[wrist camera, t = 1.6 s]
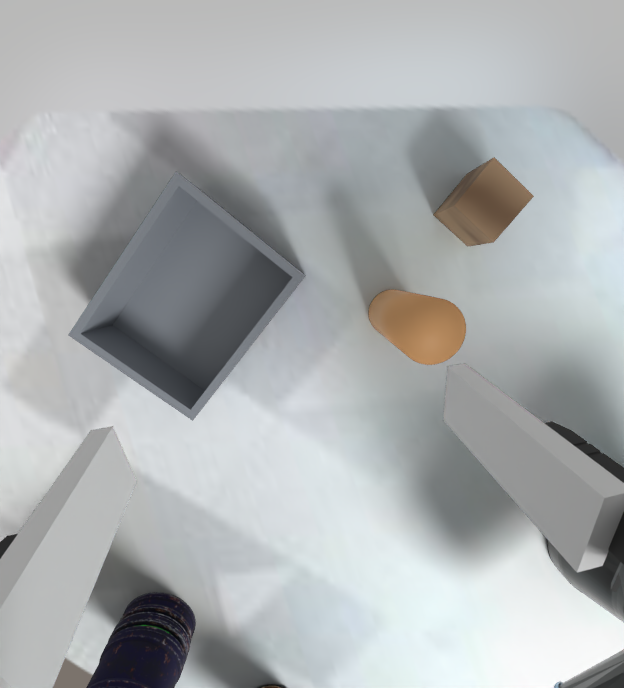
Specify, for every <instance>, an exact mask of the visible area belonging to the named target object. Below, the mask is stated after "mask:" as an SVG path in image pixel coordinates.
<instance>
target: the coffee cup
mask: <svg viewBox="0 0 624 688" xmlns="http://www.w3.org/2000/svg"><path fill="white" fill-rule="evenodd" d="M262 688H281V687H278V686H265V687H262Z"/></svg>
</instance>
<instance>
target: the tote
mask: <svg viewBox="0 0 624 688" xmlns="http://www.w3.org/2000/svg"><path fill="white" fill-rule="evenodd" d="M304 277H305V275H304V274H303V273H302V272H301V271H299V270H298V269H297V268H296V267H295V266H293V265H292V264H291V263H290V262H288V261H287V260H286V259H285V258H283V257H282V256H281V255H280V254H279V253H277V252H276V251H275V250H274V249H272V248H271V247H270V246H269V245H267V244H266V243H265V242H264V241H263V240H261V239H260V238H259V237H258V236H256V235H255V234H254V233H253V232H251V231H250V230H249V229H248V228H247V227H245V226H244V225H243V224H242V223H240V222H239V221H238V220H237V219H235V218H234V217H233V216H232V215H231V214H229V213H228V212H227V211H226V210H224V209H223V208H222V207H221V206H219V205H218V204H217V203H216V202H215V201H213V200H212V199H211V198H210V197H208V196H207V195H206V194H205V193H203V192H202V191H201V190H200V189H198V188H197V187H196V186H195V185H193V184H192V183H191V182H189V181H188V180H187V179H186V178H184V177H183V176H182V175H180V174H179V173H178V172H175V174H174V175H173V177H172V178H171V180H170V181H169V183H168V184H167V186H166V187H165V189H164V190H163V192H162V193H161V195H160V196H159V198H158V199H157V201H156V202H155V204H154V206H153V207H152V209H151V210H150V212H149V213H148V215H147V216H146V218H145V219H144V221H143V222H142V224H141V225H140V227H139V228H138V230H137V231H136V233H135V234H134V236H133V237H132V239H131V240H130V242H129V244H128V245H127V247H126V248H125V250H124V251H123V253H122V254H121V256H120V257H119V259H118V260H117V262H116V263H115V265H114V266H113V268H112V269H111V271H110V272H109V274H108V275H107V277H106V278H105V280H104V281H103V283H102V285H101V286H100V288H99V289H98V291H97V292H96V294H95V295H94V297H93V298H92V300H91V301H90V303H89V304H88V306H87V307H86V309H85V310H84V312H83V313H82V315H81V316H80V318H79V319H78V321H77V323H76V324H75V326H74V327H73V329H72V330H71V332H70V333H69V336H70V337H72V338H73V339H75V340H76V341H78V342H79V343H80V344H82V345H83V346H85V347H86V348H88V349H89V350H91V351H92V352H94V353H95V354H96V355H98V356H99V357H101V358H102V359H104V360H105V361H107V362H108V363H110V364H111V365H112V366H114V367H115V368H117V369H118V370H120V371H121V372H123V373H124V374H126V375H127V376H128V377H130V378H131V379H133V380H134V381H136V382H137V383H139V384H140V385H142V386H143V387H145V388H146V389H147V390H149V391H150V392H152V393H153V394H155V395H156V396H158V397H159V398H161V399H162V400H163V401H165V402H166V403H168V404H169V405H171V406H172V407H174V408H175V409H177V410H178V411H179V412H181V413H182V414H184V415H185V416H187V417H188V418H190V419H191V420H194V418H195V417H196V416H197V415H198V413H199V412H200V411H201V409H202V408H203V407H204V406H205V404H206V403H207V402H208V400H209V399H210V398H211V397H212V395H213V394H214V393H215V391H216V390H217V389H218V388H219V386H220V385H221V384H222V382H223V381H224V380H225V379H226V377H227V376H228V375H229V373H230V372H231V371H232V370H233V368H234V367H235V366H236V364H237V363H238V362H239V361H240V359H241V358H242V357H243V355H244V354H245V353H246V351H247V350H248V349H249V348H250V346H251V345H252V344H253V342H254V341H255V340H256V339H257V337H258V336H259V335H260V333H261V332H262V331H263V330H264V328H265V327H266V326H267V324H268V323H269V322H270V321H271V319H272V318H273V317H274V315H275V314H276V313H277V312H278V310H279V309H280V308H281V306H282V305H283V304H284V303H285V301H286V300H287V299H288V297H289V296H290V295H291V294H292V292H293V291H294V290H295V288H296V287H297V286H298V285H299V283H300V282H301V281H302V279H303V278H304Z"/></svg>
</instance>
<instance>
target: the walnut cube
mask: <svg viewBox="0 0 624 688" xmlns="http://www.w3.org/2000/svg"><path fill="white" fill-rule="evenodd" d="M533 197H534V196H533V195H532V194H531V193H530V192H529V191H528V190H527V189H526V188H525V187H524V186H523V185H522V184H521V183H520V182H519V181H518V180H517V179H516V178H515V177H514V176H513V175H512V174H511V173H510V172H509V171H508V170H507V169H506V168H505V167H504V166H503V165H502V164H501V163H500V162H498V161H497V160H496V159H495V158H492V159H491V160H489V161H487V162H486V163H484V164H482V165H481V166H479V167H477V168H476V169H474V170H473V171H471V172H469V173H468V174H466V176H465V177H464V178H463V179H462V180H461V182H460V183H459V184H458V185H457V187H456V188H455V189H454V190H453V191H452V193H451V194H450V195H449V196H448V198H447V199H446V200H445V201H444V202H443V204H442V205H441V206H440V207H439V208H438V210H437V211H436V212H435V213H434V216H435V217H436V218H437V219H438V220H439V221H440V222H441V223H443V224H444V225H445V226H446V227H447V228H448V229H449V230H450V231H451V232H452V233H454V234H455V235H456V236H457V237H458V238H459V239H460V240H461V241H462V242H463V243H465V244H466V245H467V246H473V245H480V244H486V243H492V242H494V241H495V240H496V239H497V238H498V237H499V236H500V234H501V233H502V232H503V231H504V230H505V229H506V228H507V226H508V225H509V224H510V223H511V222H512V221H513V220H514V218H515V217H516V216H517V215H518V214H519V213H520V211H521V210H522V209H523V208H524V207H525V206H526V205H527V203H528V202H529V201H530V200H531V199H532V198H533Z"/></svg>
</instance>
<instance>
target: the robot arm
mask: <svg viewBox="0 0 624 688" xmlns="http://www.w3.org/2000/svg"><path fill="white" fill-rule="evenodd" d="M443 421H444V422H445V423H446V424H447V425H448V427H449V428H450V429H451V430H452V431H453V432H454V433H455V435H456V436H457V437H458V438H459V439H460V440H461V441H462V443H463V444H464V445H465V446H466V447H467V448H468V449H469V450H470V452H471V453H472V454H473V455H474V456H475V457H476V458H477V460H478V461H479V462H480V463H481V464H482V465H483V466H484V468H485V469H486V470H487V471H488V472H489V473H490V474H491V476H492V477H493V478H494V479H495V480H496V481H497V482H498V484H499V485H500V486H501V487H502V488H503V489H504V490H505V491H506V493H507V494H508V495H509V496H510V497H511V498H512V499H513V501H514V502H515V503H516V504H517V505H518V506H519V507H520V509H521V510H522V511H523V512H524V513H525V514H526V515H527V517H528V518H529V519H530V520H531V521H532V522H533V523H534V524H535V526H536V527H537V528H538V529H539V530H540V531H541V532H542V534H543V535H544V536H545V537H546V538H547V539H548V551H549V555H550V558H551V560H552V562H553V563H554V565H555V566H556V567H557V569H558V570H559V571H560V572H561V573H562V575H563V576H564V577H565V578H566V579H567V580H568V582H569V583H570V584H572V585H573V586H574V587H575V588H576V589H578V590H579V591H580V592H582V593H584V594H585V595H586V596H588V597H589V598H590V599H592V600H593V601H595V602H596V603H597V604H599V605H600V606H602V607H603V608H604V609H606V610H607V611H609V612H610V613H611V614H613V615H614V616H616V617H617V618H618V619H620V620H621V621H623V622H624V468H623V467H622V466H620V465H619V464H618V463H616V462H615V461H613V460H612V459H611V458H609V457H608V456H606V455H605V454H604V453H603V454H601V453H600V451H599V450H598V449H596V448H595V447H594V446H592V445H591V444H587V441H585V440H584V439H582V438H581V437H580V436H578V435H577V434H575V433H574V432H573V431H571V430H569V429H567V428H565V427H563V426H560V425H558V424H556V423H554V422H548V423H543V422H542V421H541V420H539V419H538V418H537V417H535V416H534V415H533V414H531V413H530V412H529V411H527V410H526V409H525V408H523V407H522V406H521V405H519V404H518V403H517V402H516V401H514V400H513V399H512V398H510V397H509V396H508V395H506V394H505V393H504V392H502V391H501V390H500V389H498V388H497V387H496V386H494V385H493V384H492V383H490V382H489V381H488V380H486V379H485V378H484V377H482V376H481V375H480V374H478V373H477V372H476V371H474V370H473V369H472V368H470V367H469V366H468V365H466V364H465V363H463V364H457V365H451V366H447V377H446V390H445V403H444V416H443ZM136 483H137V480H136V478H135V476H134V473H133V471H132V469H131V467H130V464H129V462H128V460H127V457H126V455H125V453H124V451H123V448H122V446H121V444H120V441H119V439H118V437H117V435H116V432H115V430H114V428H113V426H112V427H107V428H101V429H96V430H91V431H90V432H89V434H88V435H87V437H86V438H85V439H84V441H83V442H82V444H81V445H80V447H79V448H78V449H77V451H76V452H75V454H74V455H73V456H72V458H71V459H70V461H69V462H68V464H67V465H66V466H65V468H64V469H63V471H62V472H61V474H60V475H59V476H58V478H57V479H56V481H55V482H54V483H53V485H52V486H51V488H50V489H49V491H48V492H47V493H46V495H45V496H44V498H43V499H42V501H41V502H40V503H39V505H38V506H37V508H36V509H35V510H34V512H33V513H32V515H31V516H30V518H29V519H28V520H27V522H26V523H25V525H24V526H23V528H22V529H21V530H20V532H19V533H18V534H15V535H10V536H7V537H6V538H4V539H3V540H2V541H1V542H0V688H53V685H54V683H55V681H56V678H57V676H58V673H59V671H60V668H61V666H62V664H63V661H64V659H65V656H66V654H67V651H68V649H69V647H70V644H71V642H72V639H73V637H74V634H75V632H76V629H77V627H78V625H79V622H80V620H81V617H82V615H83V612H84V610H85V607H86V605H87V603H88V600H89V598H90V595H91V593H92V590H93V588H94V585H95V583H96V581H97V578H98V576H99V573H100V571H101V568H102V566H103V563H104V561H105V559H106V556H107V554H108V551H109V549H110V546H111V544H112V541H113V539H114V537H115V534H116V532H117V529H118V527H119V524H120V522H121V520H122V517H123V515H124V512H125V510H126V507H127V505H128V502H129V500H130V498H131V495H132V493H133V490H134V488H135V485H136ZM554 688H624V650H622V651H620V652H619V653H617V654H615V655H613V656H611V657H610V658H608V659H606V660H604V661H602V662H601V663H599V664H597V665H595V666H593V667H591V668H590V669H588V670H586V671H584V672H582V673H581V674H579V675H577V676H575V677H573V678H571V679H570V680H568V681H566V682H564V683H562V682H561V681H560V682H557V683H556V684H555V686H554Z"/></svg>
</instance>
